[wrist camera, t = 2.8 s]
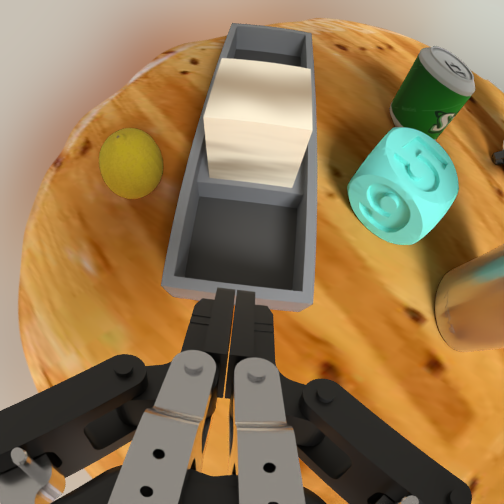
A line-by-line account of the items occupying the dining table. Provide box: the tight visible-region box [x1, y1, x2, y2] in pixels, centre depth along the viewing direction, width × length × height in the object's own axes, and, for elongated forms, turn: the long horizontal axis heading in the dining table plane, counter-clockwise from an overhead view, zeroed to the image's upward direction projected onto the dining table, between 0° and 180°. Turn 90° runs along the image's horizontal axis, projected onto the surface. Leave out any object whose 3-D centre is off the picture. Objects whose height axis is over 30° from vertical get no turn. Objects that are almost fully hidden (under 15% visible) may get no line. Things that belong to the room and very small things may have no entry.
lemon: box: [99, 128, 163, 199], centre depth 24 cm, size 6×6×8 cm
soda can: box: [389, 46, 475, 140], centre depth 27 cm, size 8×8×12 cm
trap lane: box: [161, 23, 317, 312], centre depth 28 cm, size 35×11×4 cm, turn 174°
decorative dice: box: [347, 127, 459, 245], centre depth 25 cm, size 8×8×8 cm
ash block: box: [203, 58, 313, 188], centre depth 23 cm, size 7×7×8 cm
